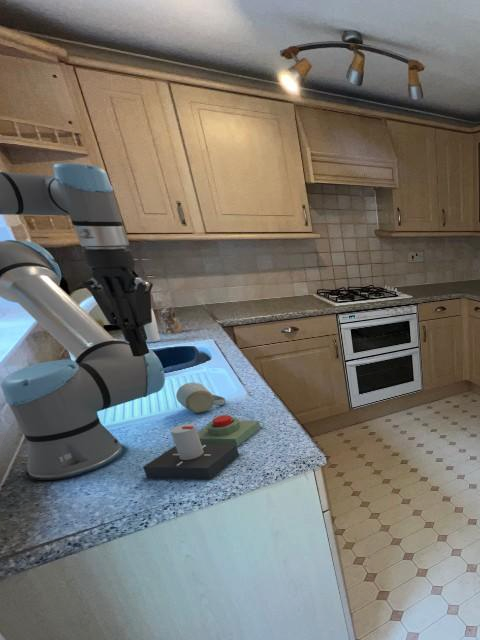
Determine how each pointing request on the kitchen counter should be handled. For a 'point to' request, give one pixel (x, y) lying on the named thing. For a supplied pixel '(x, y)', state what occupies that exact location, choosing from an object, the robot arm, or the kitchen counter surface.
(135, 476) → the kitchen counter surface
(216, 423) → the power button
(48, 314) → the robot arm
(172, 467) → the panel
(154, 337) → the drinking glass
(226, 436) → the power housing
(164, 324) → the figurine
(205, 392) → the ceramic mug
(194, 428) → the timer dial
